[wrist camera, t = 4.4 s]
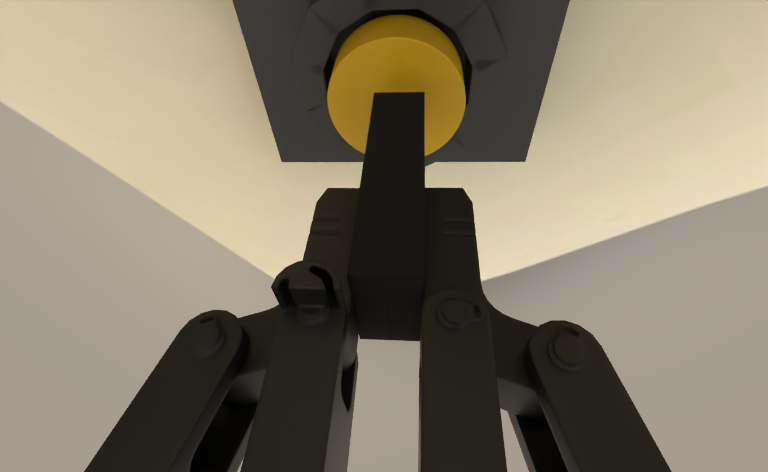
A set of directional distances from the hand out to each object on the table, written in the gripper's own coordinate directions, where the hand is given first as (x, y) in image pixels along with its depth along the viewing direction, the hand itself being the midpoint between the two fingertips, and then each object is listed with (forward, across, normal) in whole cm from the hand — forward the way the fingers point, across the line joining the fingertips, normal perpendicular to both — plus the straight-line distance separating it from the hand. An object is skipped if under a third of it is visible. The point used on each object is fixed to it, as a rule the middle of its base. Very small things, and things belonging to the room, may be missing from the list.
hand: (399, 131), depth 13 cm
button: (+3, 0, 0) cm, 3 cm away
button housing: (+7, 0, 0) cm, 7 cm away
